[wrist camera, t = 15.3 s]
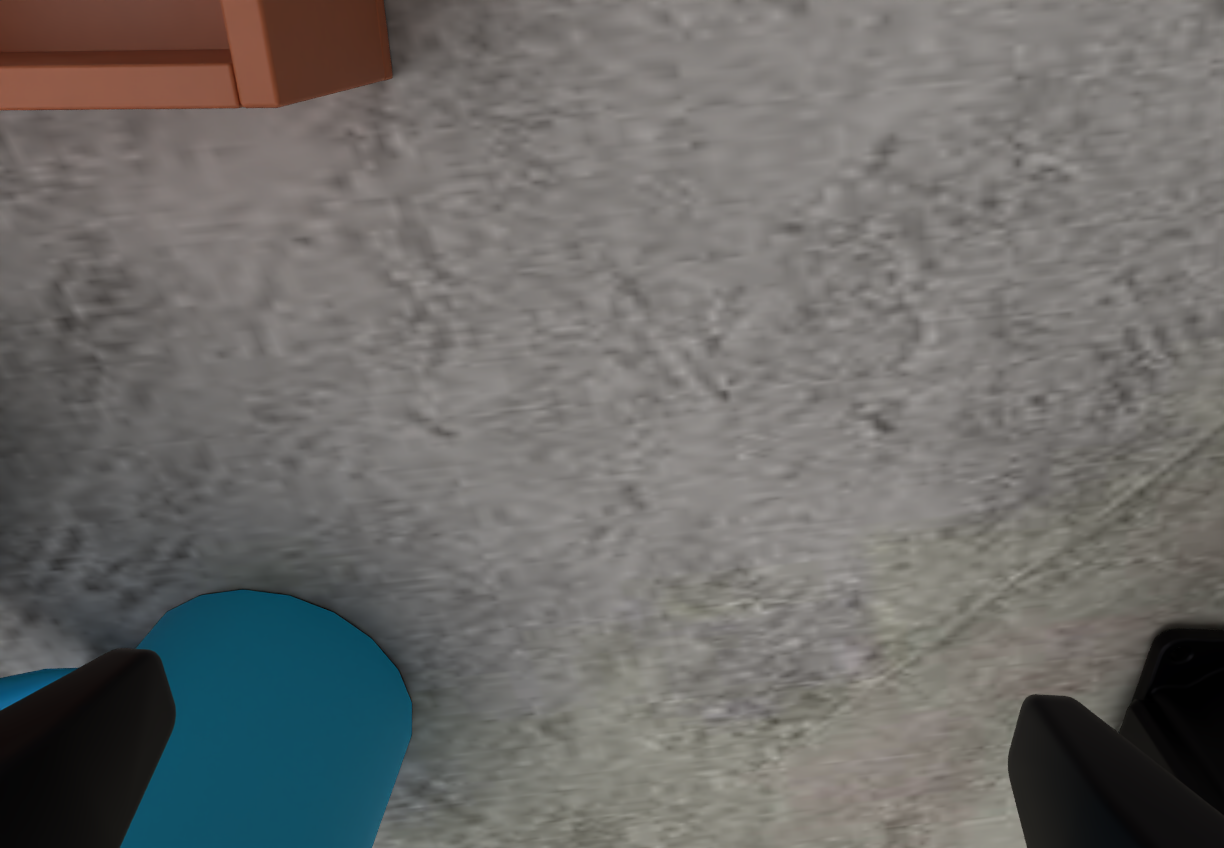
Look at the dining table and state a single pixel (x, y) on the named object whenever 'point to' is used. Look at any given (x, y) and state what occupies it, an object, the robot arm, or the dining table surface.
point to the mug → (266, 727)
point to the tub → (187, 52)
